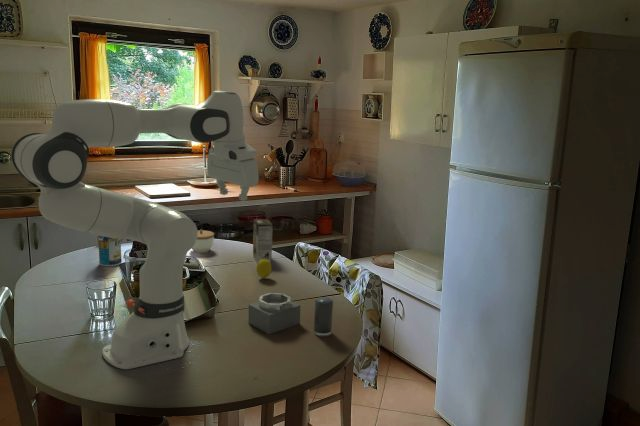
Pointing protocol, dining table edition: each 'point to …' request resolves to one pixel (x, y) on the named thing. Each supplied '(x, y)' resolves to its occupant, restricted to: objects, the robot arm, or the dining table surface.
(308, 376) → the dining table surface
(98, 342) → the dining table surface
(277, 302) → the grey cube with hole
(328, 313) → the dark grey cylinder
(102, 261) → the blue cylindrical canister
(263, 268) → the lemon
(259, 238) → the coffee box
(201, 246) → the lidded jar
